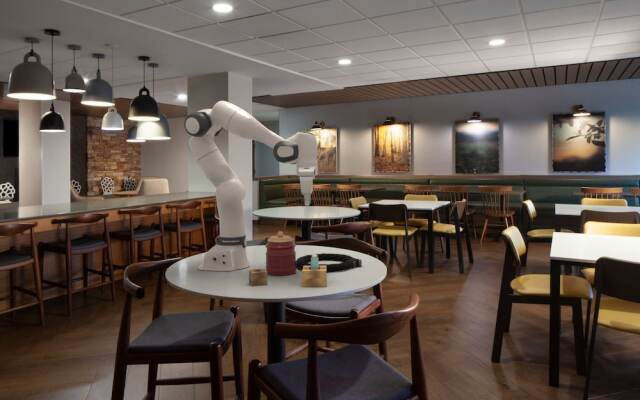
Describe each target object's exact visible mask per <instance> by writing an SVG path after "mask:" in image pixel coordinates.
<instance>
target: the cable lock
mask: <svg viewBox="0 0 640 400" xmlns="http://www.w3.org/2000/svg"><path fill="white" fill-rule="evenodd" d="M313 254H314V253H313ZM313 254H305V255H303V256H299V257H298V258H296V269H297V268H298V270H301V271H302V270H303V266H311V258H312V255H313ZM316 254H317V257H318V262H320V261H321V262H322V260H324V262H325V261H331V260H332V262H333V261H334V262H339V263H321V264H320V263H318V266H324V265H326V270H327V273H333V272H334V273H337V272H344V271H348V270H350V269H355V268H362V259H361V258H360V259H359V258H355V257H353V256H351V255H347V254H345V253H344V254H342V253H316ZM341 261H342V262H341ZM343 270H344V271H343Z"/></svg>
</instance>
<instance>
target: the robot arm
mask: <svg viewBox="0 0 640 400" xmlns="http://www.w3.org/2000/svg"><path fill="white" fill-rule="evenodd" d="M183 127H184V129H185V132H186V133H187V134H188V135H189V136H190V138H189V140H188V146H189V148H190V151H191V154H192V156H193V157H194V159H195V161H196V163H197V164H198V165H199V167H200V170H202V172H203V174H204V175H205V178H207V179H208V180H209V181H210V182H211V184H212V185H213V186H214V187H215V188H216V189H215V190H216V191H215V200H216V205H217V206H216V207H217V213H218V219H219V235H217V236H216V237H215V240H214V242H215V245H214V246H212V247H211V248H210V249H208V251H207V252H206V253H205V254H204V255H203V262H202V263H201V264H198V268H197V269H198V270H200V271H213V272H214V271H215V272H216V271H217V272H219V271H220V272H231V271H232V272H233V271H236V270H242V269H246V268H249V266H250V263H249V259H248V256H247V255H248V254H247V249H246V248H247V235H246V231H245V230H246V229H245V228H246V227H245V226H246V225H245V215H244V210H243V200H244V199H245V196H246V188H245V186H244V184H243V182H242V181H241V180H240V179H239V177H238V176H237V174H236V173H235V172H234V171H233V168H232V167H231V166H230V164H229V163H228V162H227V160H226V158H225V157H224V155H223V154H222V152H221V151H220V149H219V147H218V146H217V145H216V143H215V140H214V138H215V137H218V136H219V135H220V133H221V131H223V129H224V130H226V131H228V133H231V134H233V135H235V136H236V137H240V138H241V139H246V140H252V141H256V142H259V143H262V144H265V145H266V146H268V147H269V148H271V149H273V150H272V155H273V157H274V159H275V160H276V161H277V162H279V163H281V164H289V165H295V166H296V167H295V169H296V170H295V171H296V176H297V177H299V183H300V193H301V195H302V196H303V198H304V206H307V207H309V206H310V204H311V197H312V193H313V191H314V190H313V189H314V187H313V186H314V184H313V181H314V180H315V179H316V178H315V177H316V176H318V175H319V169H318V166H319V165H318V164H319V163H318V160H317V159H318V158H317V157H318V143H317V141H318V140H317V137H316V135H315V134H314V133H313V132H307V131H301V130H300V131H297V132H296V133H295V134H293V135H292V136H290V137H288V138H284V137H282V136H281V135H279V134H277V133H275V132H274V131H272V130H270V129H269V128H267V127H266V126H265V125H263V124H262V123H261V122H260V121H259V120H258V119H257V118H255V117H254V116H253V115H252V114H250V113H249V112H248V111H246V110H245V109H243V108H241V107H240V106H237V105H236V104H234V103H231V102H229V101H226V100H219V101H217V102H216V103H215V104H214V105H213V106H212V108H204V109H203V108H202V109H200V110H198V111H193V112H191V113H189V114H188V115H186V117H185V118H184V121H183Z"/></svg>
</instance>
